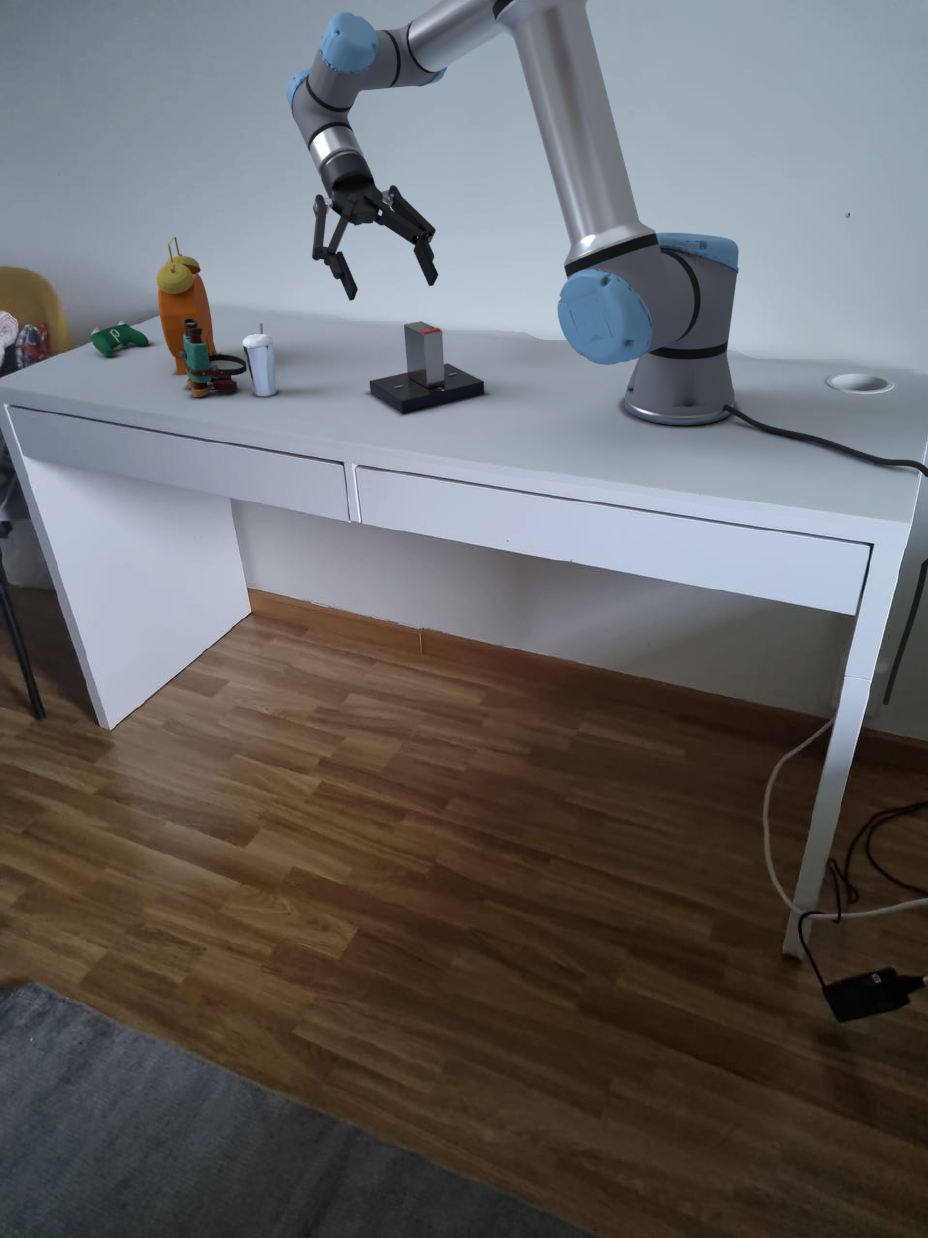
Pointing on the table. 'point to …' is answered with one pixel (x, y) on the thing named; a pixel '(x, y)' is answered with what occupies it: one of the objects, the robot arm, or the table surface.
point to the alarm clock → (183, 304)
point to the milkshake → (261, 362)
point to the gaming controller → (116, 338)
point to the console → (426, 390)
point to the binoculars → (206, 363)
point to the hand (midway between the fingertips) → (394, 287)
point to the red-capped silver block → (424, 354)
